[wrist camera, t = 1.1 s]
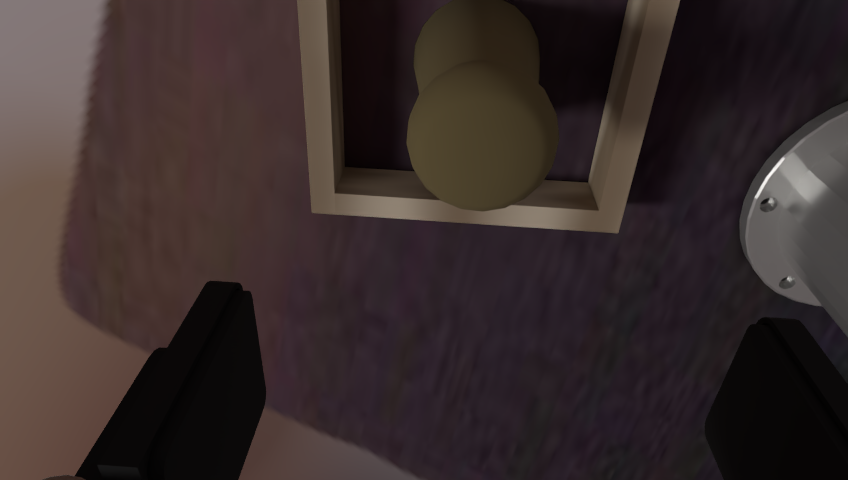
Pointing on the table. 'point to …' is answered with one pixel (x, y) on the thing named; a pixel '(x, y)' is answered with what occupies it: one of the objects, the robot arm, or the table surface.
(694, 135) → the table surface
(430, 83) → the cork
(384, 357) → the table surface
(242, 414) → the robot arm
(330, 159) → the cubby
